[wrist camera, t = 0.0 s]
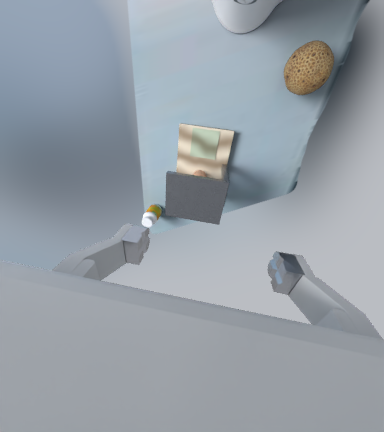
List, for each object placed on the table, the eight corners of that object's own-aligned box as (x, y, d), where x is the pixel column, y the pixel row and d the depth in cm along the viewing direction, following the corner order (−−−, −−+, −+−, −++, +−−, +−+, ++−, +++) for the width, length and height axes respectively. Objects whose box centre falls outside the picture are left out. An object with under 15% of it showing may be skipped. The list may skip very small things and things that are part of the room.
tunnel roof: (180, 157, 53) (166, 172, 39) (226, 164, 52) (229, 182, 38) (178, 191, 60) (165, 215, 46) (219, 198, 59) (218, 224, 45)
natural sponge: (270, 87, 43) (282, 80, 34) (294, 41, 38) (315, 21, 30) (300, 103, 43) (319, 100, 35) (327, 60, 39) (357, 45, 30)
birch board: (181, 123, 50) (179, 123, 48) (233, 130, 49) (234, 131, 47) (176, 197, 63) (174, 200, 61) (217, 204, 62) (217, 207, 60)
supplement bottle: (163, 206, 66) (155, 219, 58) (160, 217, 69) (152, 230, 61) (150, 201, 66) (141, 214, 58) (148, 212, 69) (138, 225, 61)
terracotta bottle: (193, 168, 55) (188, 178, 46) (208, 171, 54) (205, 181, 46) (191, 183, 57) (186, 195, 49) (205, 185, 57) (203, 197, 49)
